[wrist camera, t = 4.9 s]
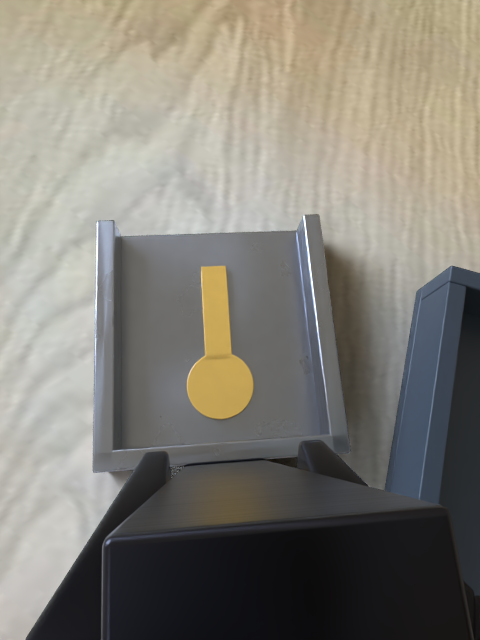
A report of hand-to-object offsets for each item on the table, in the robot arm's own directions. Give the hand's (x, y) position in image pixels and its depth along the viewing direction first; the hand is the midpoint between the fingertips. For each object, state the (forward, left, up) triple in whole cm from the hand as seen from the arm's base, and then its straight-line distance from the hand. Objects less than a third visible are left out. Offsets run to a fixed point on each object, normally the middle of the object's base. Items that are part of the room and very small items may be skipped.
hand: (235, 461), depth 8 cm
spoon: (+3, +2, -6) cm, 7 cm away
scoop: (+2, +1, -7) cm, 7 cm away
